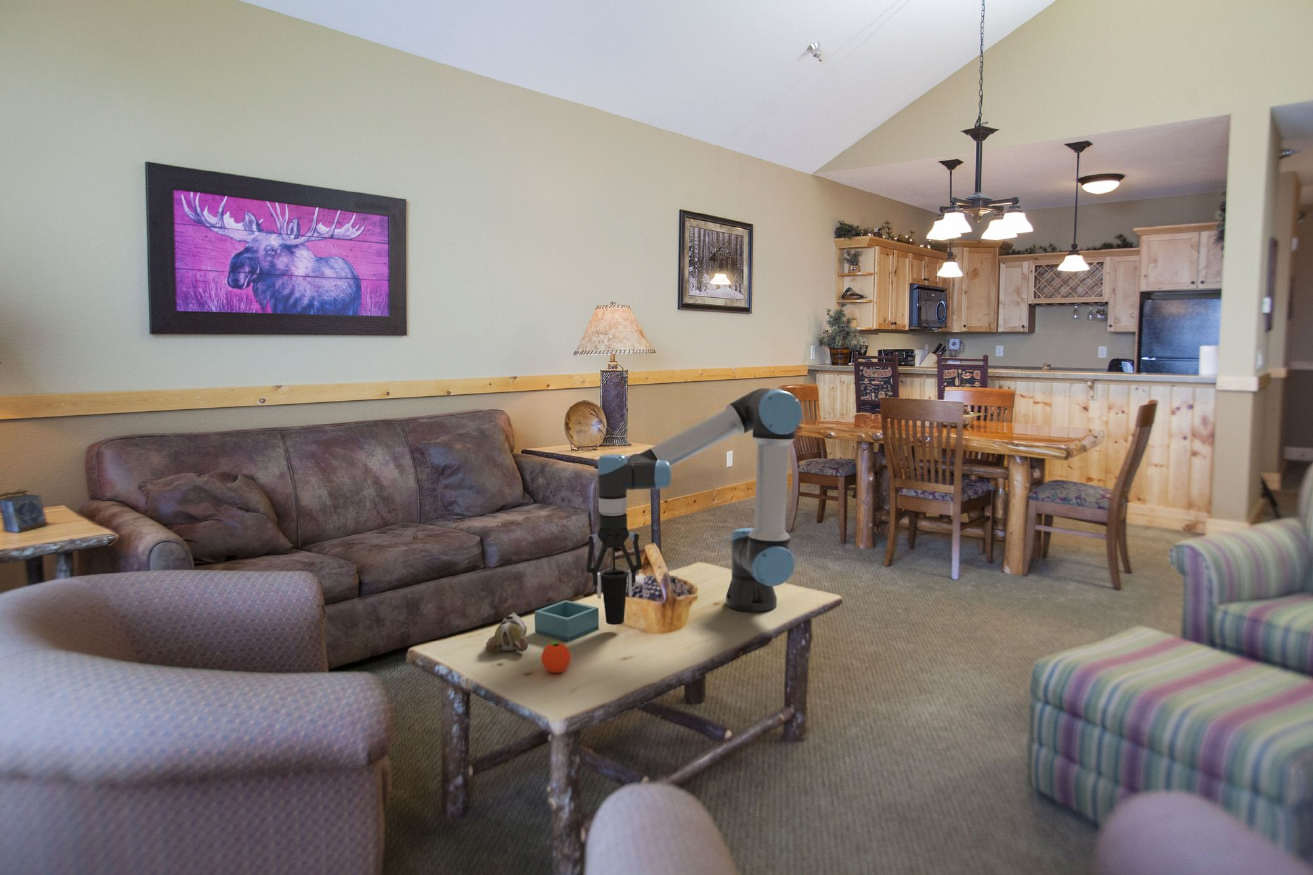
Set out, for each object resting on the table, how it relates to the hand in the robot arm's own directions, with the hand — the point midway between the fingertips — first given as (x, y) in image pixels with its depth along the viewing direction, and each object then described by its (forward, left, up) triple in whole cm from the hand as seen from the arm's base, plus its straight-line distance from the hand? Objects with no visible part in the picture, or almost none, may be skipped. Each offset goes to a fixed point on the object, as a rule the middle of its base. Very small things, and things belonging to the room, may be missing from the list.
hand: (614, 596), depth 218 cm
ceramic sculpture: (+14, +25, -10) cm, 31 cm away
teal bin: (+11, +7, -10) cm, 16 cm away
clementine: (-6, +29, -10) cm, 31 cm away
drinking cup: (0, 0, -7) cm, 7 cm away
